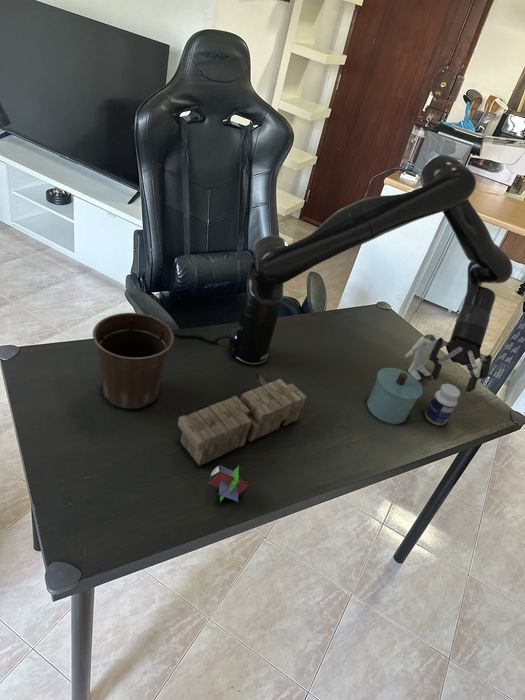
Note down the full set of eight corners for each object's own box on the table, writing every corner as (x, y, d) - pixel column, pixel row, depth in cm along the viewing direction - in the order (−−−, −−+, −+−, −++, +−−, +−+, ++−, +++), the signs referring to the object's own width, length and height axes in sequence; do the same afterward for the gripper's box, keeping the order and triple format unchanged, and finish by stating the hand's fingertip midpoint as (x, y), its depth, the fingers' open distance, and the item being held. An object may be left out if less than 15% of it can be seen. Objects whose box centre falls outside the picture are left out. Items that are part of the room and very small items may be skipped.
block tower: (276, 402, 118) (172, 443, 100) (285, 376, 114) (178, 413, 96) (297, 423, 114) (193, 469, 96) (307, 397, 109) (200, 440, 91)
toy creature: (411, 384, 136) (428, 350, 129) (395, 371, 139) (411, 337, 133) (436, 374, 143) (454, 341, 136) (420, 361, 146) (437, 329, 139)
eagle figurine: (287, 390, 120) (255, 372, 120) (293, 383, 113) (259, 364, 114) (273, 417, 118) (240, 399, 118) (278, 411, 111) (244, 392, 111)
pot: (368, 420, 120) (384, 385, 113) (362, 390, 129) (377, 356, 122) (412, 429, 120) (431, 395, 114) (404, 398, 130) (421, 365, 123)
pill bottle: (420, 409, 128) (436, 380, 122) (440, 411, 129) (457, 383, 123) (428, 425, 123) (445, 396, 117) (448, 427, 124) (466, 398, 118)
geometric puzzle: (255, 476, 95) (237, 451, 91) (255, 505, 90) (236, 480, 86) (223, 486, 97) (203, 462, 93) (221, 516, 92) (200, 491, 87)
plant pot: (89, 416, 101) (89, 356, 92) (94, 367, 114) (95, 309, 105) (167, 417, 106) (175, 360, 97) (164, 369, 118) (171, 314, 109)
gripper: (448, 313, 122) (428, 373, 119) (504, 332, 120) (485, 393, 117) (439, 321, 129) (420, 377, 126) (492, 339, 127) (474, 397, 124)
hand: (451, 385), depth 122 cm, fingers open, 8 cm apart
